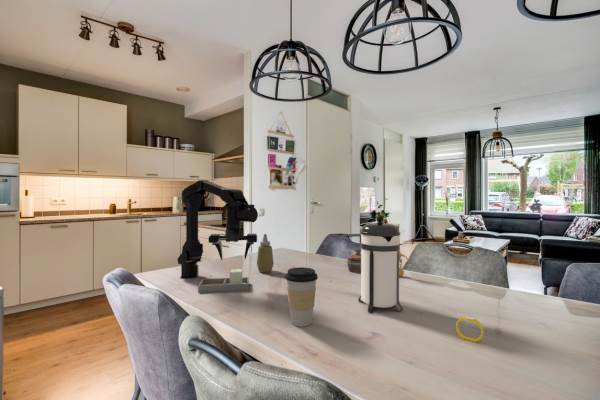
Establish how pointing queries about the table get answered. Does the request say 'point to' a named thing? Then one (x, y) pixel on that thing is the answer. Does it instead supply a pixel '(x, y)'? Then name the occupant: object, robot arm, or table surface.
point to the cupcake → (354, 261)
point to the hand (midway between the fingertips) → (233, 259)
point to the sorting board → (222, 285)
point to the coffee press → (380, 265)
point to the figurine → (401, 264)
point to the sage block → (236, 276)
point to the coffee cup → (301, 294)
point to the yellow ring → (471, 319)
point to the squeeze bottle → (265, 256)
